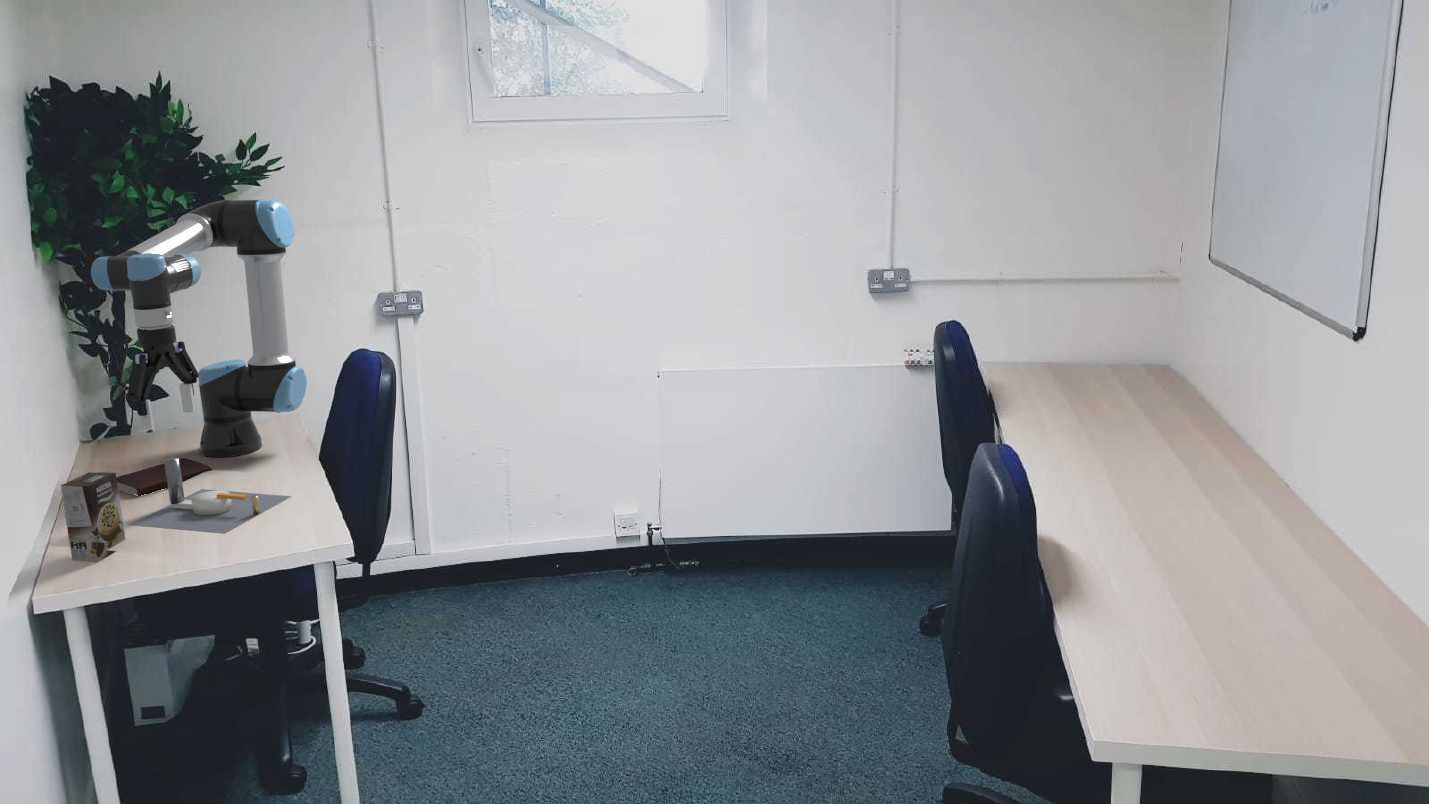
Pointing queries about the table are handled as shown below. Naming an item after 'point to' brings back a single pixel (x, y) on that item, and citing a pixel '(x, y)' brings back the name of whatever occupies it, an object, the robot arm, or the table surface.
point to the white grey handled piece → (201, 502)
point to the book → (157, 477)
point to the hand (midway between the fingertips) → (169, 420)
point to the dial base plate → (212, 523)
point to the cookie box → (93, 515)
